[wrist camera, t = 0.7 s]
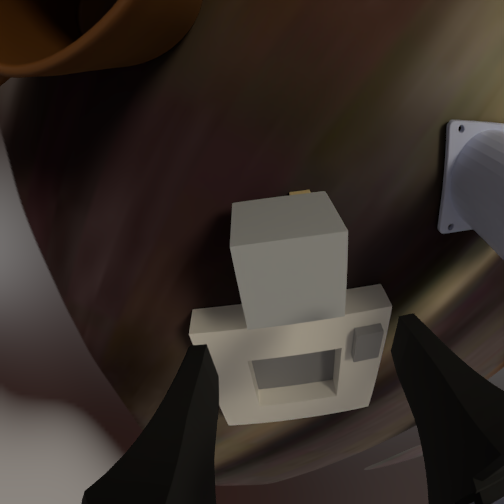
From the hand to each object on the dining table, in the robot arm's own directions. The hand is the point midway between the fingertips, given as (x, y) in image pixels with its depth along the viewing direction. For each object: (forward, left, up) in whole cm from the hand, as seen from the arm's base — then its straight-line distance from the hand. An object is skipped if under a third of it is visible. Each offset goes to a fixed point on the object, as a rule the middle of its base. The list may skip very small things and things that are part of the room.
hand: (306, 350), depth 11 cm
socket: (0, +13, -10) cm, 16 cm away
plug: (0, 0, -10) cm, 10 cm away
